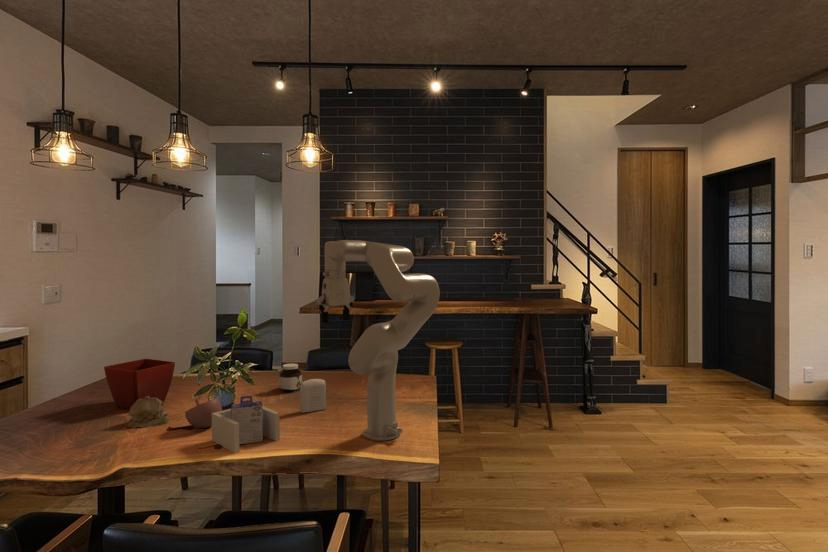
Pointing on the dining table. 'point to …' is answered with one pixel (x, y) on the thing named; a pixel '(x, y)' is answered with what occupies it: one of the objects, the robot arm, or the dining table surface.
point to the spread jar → (290, 378)
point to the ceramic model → (147, 413)
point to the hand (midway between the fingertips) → (335, 321)
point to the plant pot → (139, 380)
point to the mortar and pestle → (203, 412)
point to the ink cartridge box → (248, 420)
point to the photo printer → (312, 395)
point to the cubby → (228, 429)
